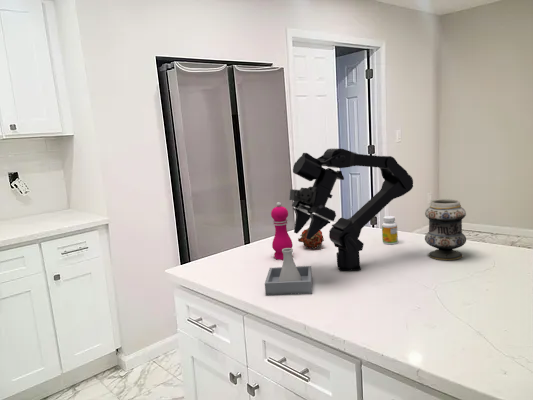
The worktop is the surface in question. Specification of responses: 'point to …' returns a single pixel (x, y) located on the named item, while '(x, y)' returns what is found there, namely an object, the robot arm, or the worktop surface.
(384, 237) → the supplement bottle
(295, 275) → the flask
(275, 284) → the box
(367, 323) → the worktop surface
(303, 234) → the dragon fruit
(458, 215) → the apothecary jar
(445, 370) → the worktop surface
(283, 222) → the pepper mill
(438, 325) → the worktop surface
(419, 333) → the worktop surface
